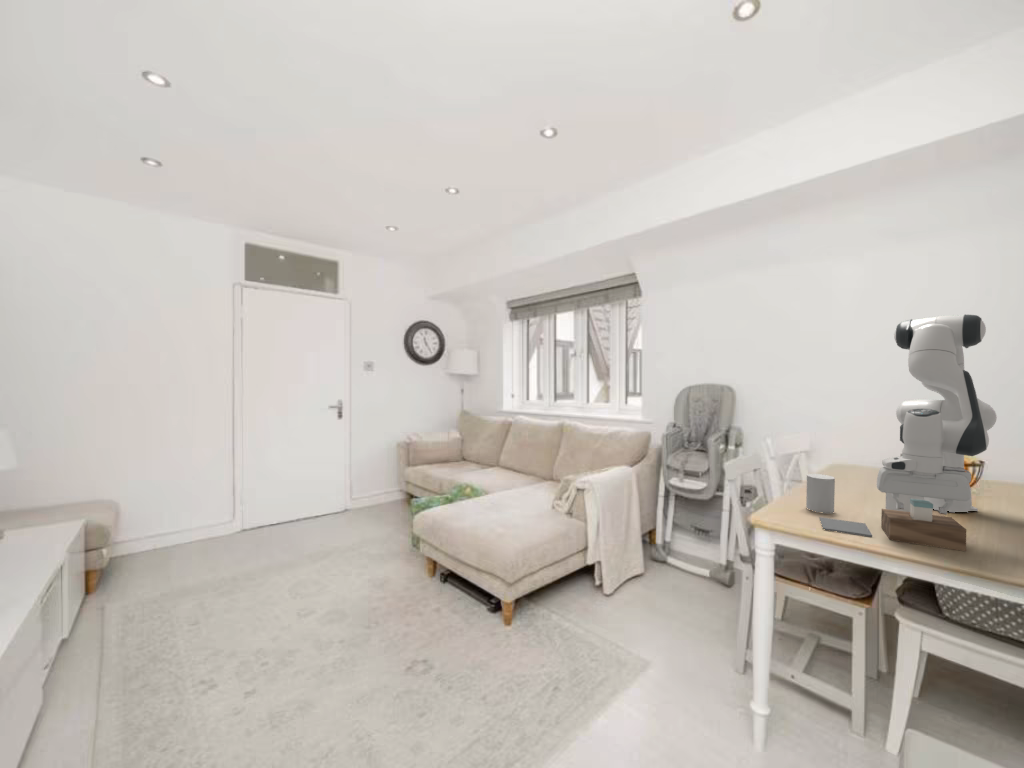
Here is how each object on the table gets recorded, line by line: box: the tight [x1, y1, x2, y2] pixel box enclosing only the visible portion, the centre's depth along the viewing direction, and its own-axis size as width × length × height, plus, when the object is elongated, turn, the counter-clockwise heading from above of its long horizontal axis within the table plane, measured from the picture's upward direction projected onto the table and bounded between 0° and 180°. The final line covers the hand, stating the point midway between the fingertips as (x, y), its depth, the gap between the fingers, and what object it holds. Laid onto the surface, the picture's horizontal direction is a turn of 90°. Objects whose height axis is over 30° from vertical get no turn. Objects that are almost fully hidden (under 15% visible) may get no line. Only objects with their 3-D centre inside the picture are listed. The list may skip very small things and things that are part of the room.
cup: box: [805, 473, 836, 514], centre depth 156 cm, size 8×8×12 cm
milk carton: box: [885, 493, 924, 512], centre depth 145 cm, size 7×7×19 cm
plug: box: [910, 499, 934, 522], centre depth 129 cm, size 4×4×11 cm
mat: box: [819, 516, 873, 538], centre depth 138 cm, size 12×12×1 cm
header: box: [880, 508, 967, 552], centre depth 129 cm, size 12×16×6 cm
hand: (920, 511), depth 129 cm, fingers open, 8 cm apart
